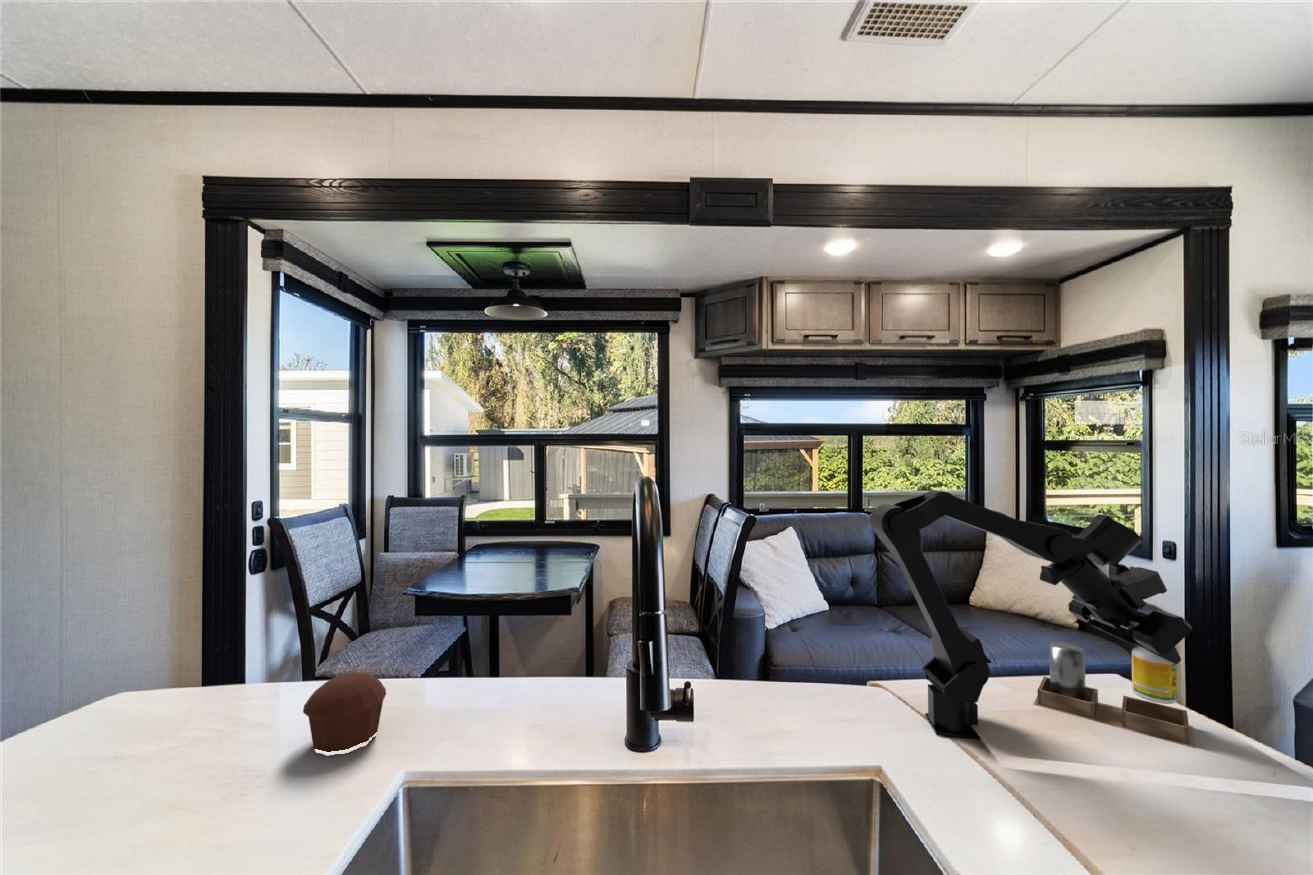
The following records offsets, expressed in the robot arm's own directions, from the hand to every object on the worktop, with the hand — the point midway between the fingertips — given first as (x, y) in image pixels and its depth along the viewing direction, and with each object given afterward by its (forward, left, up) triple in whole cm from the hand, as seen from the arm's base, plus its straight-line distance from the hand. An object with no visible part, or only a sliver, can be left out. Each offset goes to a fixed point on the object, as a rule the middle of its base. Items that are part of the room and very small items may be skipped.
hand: (1162, 655), depth 86 cm
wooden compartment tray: (-6, +3, -13) cm, 15 cm away
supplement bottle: (-1, 0, -7) cm, 7 cm away
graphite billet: (-11, +6, -12) cm, 17 cm away
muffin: (-130, -28, -13) cm, 134 cm away
